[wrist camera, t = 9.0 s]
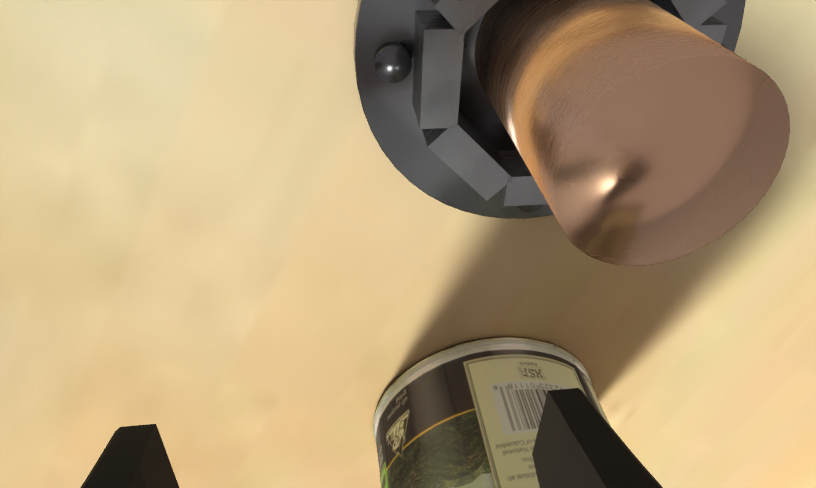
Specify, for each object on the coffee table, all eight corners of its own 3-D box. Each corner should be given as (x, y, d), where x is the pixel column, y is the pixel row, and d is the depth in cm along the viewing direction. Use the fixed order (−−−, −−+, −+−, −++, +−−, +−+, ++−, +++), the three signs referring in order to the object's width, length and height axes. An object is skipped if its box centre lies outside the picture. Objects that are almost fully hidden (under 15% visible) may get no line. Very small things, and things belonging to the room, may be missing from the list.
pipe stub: (476, 128, 18) (548, 279, 12) (472, -29, 15) (563, 75, 10) (619, 109, 18) (753, 249, 13) (641, -49, 15) (823, 40, 10)
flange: (358, 213, 20) (363, 257, 18) (346, -191, 14) (350, -188, 12) (667, 197, 21) (702, 237, 20) (793, -180, 15) (863, -176, 13)
